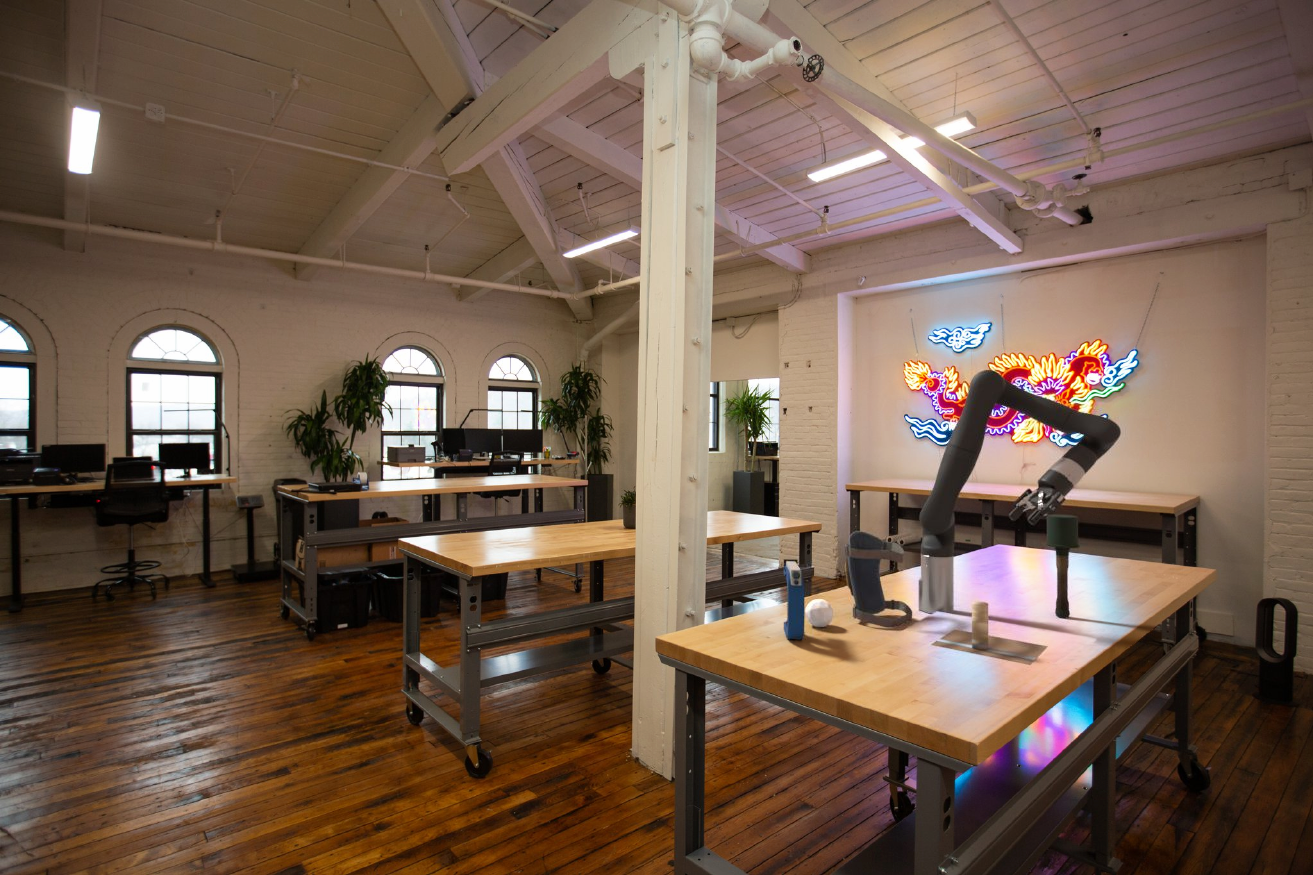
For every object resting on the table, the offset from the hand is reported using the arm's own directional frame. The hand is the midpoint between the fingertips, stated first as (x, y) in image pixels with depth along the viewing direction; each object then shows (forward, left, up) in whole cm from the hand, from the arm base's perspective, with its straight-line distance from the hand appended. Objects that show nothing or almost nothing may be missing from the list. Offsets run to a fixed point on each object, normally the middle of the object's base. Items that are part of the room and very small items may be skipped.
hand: (1020, 520), depth 179 cm
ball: (-44, -30, -31) cm, 62 cm away
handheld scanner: (-45, -43, -31) cm, 70 cm away
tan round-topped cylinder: (-3, -26, -29) cm, 39 cm away
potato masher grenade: (+5, +27, -31) cm, 41 cm away
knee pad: (-35, -12, -31) cm, 48 cm away
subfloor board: (-2, -22, -31) cm, 38 cm away
